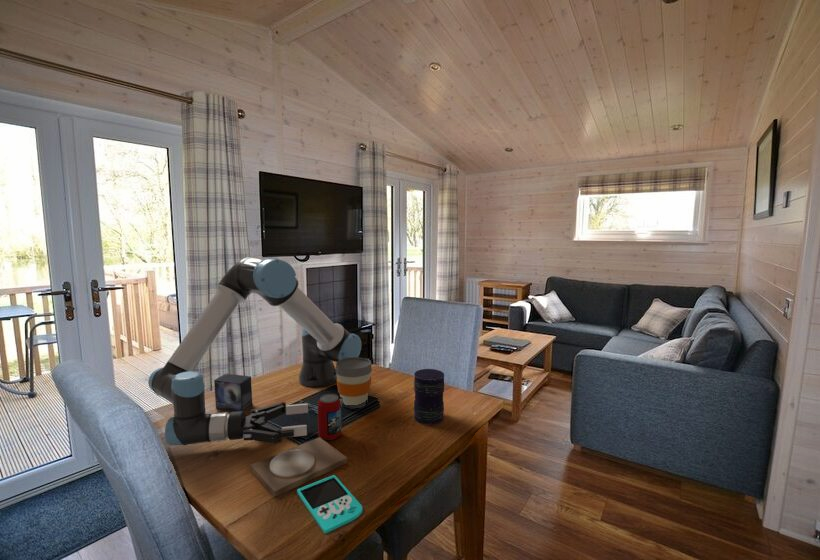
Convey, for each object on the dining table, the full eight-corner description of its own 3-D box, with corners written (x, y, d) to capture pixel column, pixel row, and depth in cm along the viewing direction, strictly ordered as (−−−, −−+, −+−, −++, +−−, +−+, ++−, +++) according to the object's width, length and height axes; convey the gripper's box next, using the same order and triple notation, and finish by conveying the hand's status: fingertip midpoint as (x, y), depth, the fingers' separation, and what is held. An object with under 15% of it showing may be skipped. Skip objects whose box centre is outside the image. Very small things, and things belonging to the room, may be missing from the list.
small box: (214, 409, 135) (212, 379, 134) (227, 401, 142) (225, 372, 140) (241, 412, 133) (239, 382, 131) (253, 404, 139) (252, 375, 138)
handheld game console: (323, 536, 81) (323, 530, 80) (295, 494, 93) (295, 488, 93) (366, 515, 87) (366, 510, 86) (334, 478, 99) (334, 473, 99)
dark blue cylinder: (408, 414, 132) (408, 371, 130) (433, 408, 137) (434, 367, 135) (423, 428, 124) (423, 382, 122) (449, 421, 128) (450, 376, 126)
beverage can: (336, 443, 115) (335, 403, 113) (314, 440, 116) (313, 401, 114) (344, 431, 121) (344, 393, 120) (323, 429, 122) (323, 391, 121)
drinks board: (319, 441, 115) (319, 434, 115) (347, 462, 105) (347, 454, 105) (250, 470, 101) (250, 461, 101) (274, 497, 91) (274, 488, 91)
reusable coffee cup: (338, 396, 146) (338, 357, 144) (372, 396, 147) (372, 356, 145) (333, 412, 134) (332, 369, 132) (371, 411, 134) (370, 369, 132)
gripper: (238, 417, 124) (308, 411, 128) (219, 464, 100) (306, 454, 104) (237, 394, 123) (308, 389, 127) (217, 436, 99) (305, 427, 103)
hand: (307, 418), depth 116 cm, fingers open, 13 cm apart
